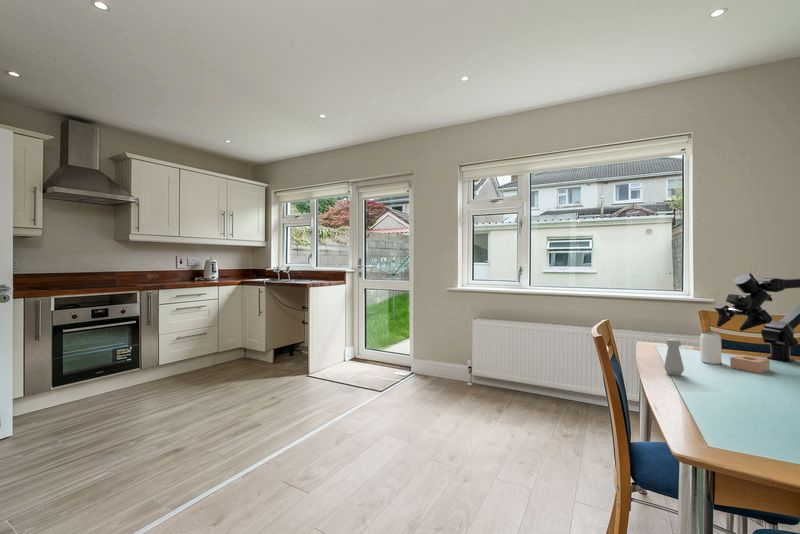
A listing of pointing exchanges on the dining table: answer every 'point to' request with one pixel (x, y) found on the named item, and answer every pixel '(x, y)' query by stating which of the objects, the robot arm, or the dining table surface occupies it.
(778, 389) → the dining table surface
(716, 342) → the can
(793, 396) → the dining table surface
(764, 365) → the peach block
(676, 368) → the salt shaker
